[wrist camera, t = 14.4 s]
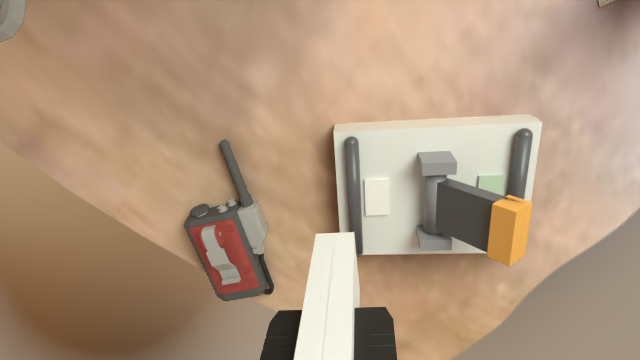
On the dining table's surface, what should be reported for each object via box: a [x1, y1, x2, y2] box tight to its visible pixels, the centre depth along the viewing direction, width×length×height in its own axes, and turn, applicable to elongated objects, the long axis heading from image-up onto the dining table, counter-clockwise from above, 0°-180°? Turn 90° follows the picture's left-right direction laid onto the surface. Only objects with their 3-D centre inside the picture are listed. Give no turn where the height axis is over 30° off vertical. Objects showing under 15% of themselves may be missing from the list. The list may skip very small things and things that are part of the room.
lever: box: [423, 175, 533, 266], centre depth 36 cm, size 6×2×10 cm
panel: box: [333, 114, 542, 257], centre depth 40 cm, size 14×19×6 cm
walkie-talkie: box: [184, 140, 274, 301], centre depth 45 cm, size 9×4×20 cm
